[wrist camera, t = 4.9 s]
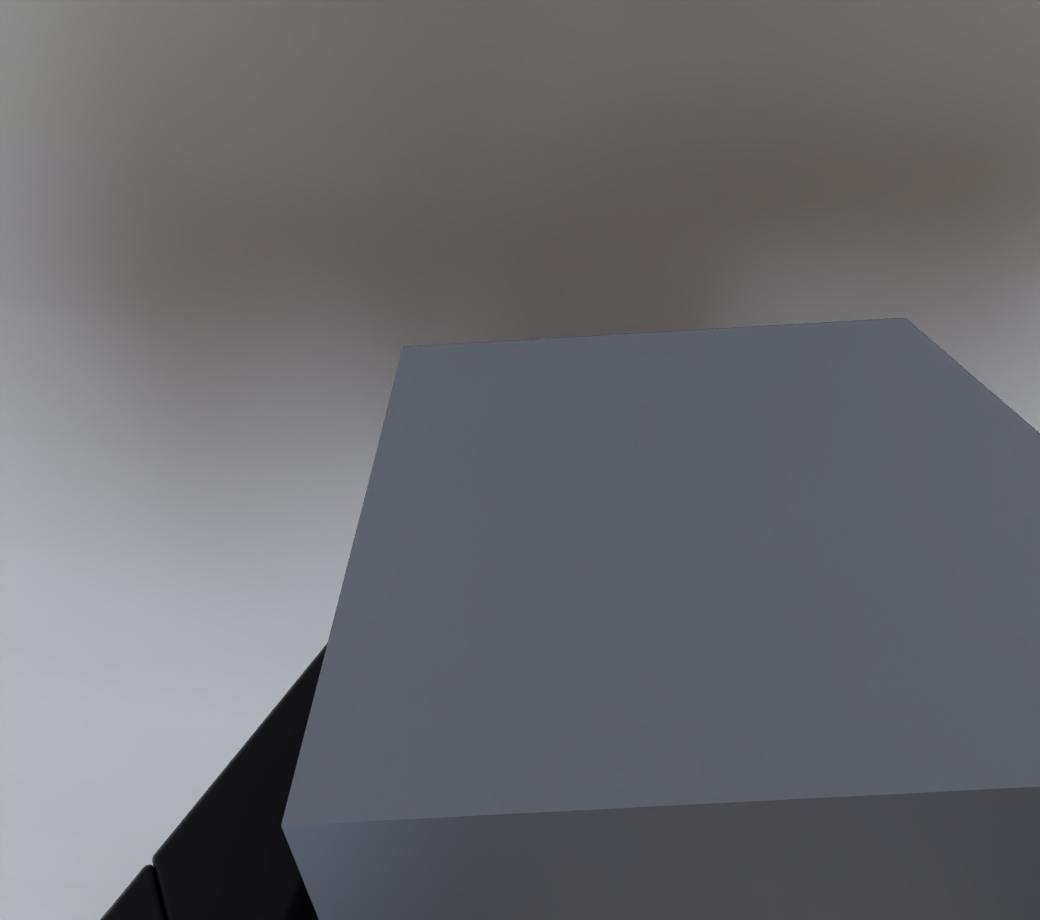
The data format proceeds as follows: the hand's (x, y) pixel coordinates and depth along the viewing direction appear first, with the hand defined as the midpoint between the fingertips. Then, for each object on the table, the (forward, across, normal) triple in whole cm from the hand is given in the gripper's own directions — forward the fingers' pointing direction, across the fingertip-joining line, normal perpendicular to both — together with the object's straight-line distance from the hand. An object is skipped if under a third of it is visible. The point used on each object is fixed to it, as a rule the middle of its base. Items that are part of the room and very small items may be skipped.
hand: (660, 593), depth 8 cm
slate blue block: (+1, 0, 0) cm, 1 cm away
